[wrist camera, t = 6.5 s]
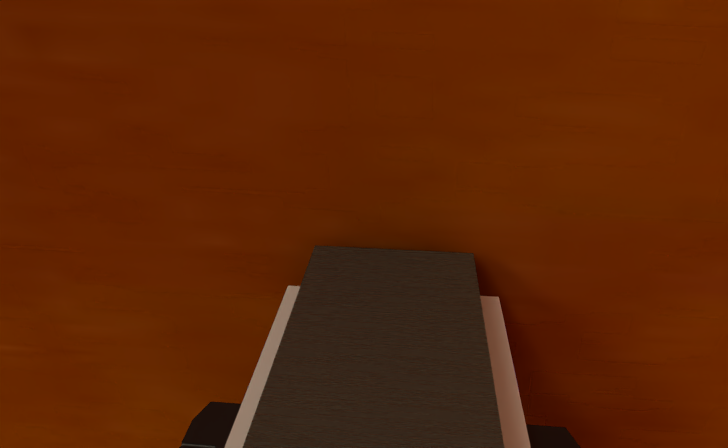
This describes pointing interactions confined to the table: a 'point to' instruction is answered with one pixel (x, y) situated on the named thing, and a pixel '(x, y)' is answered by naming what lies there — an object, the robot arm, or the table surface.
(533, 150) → the table surface
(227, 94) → the table surface
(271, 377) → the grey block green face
